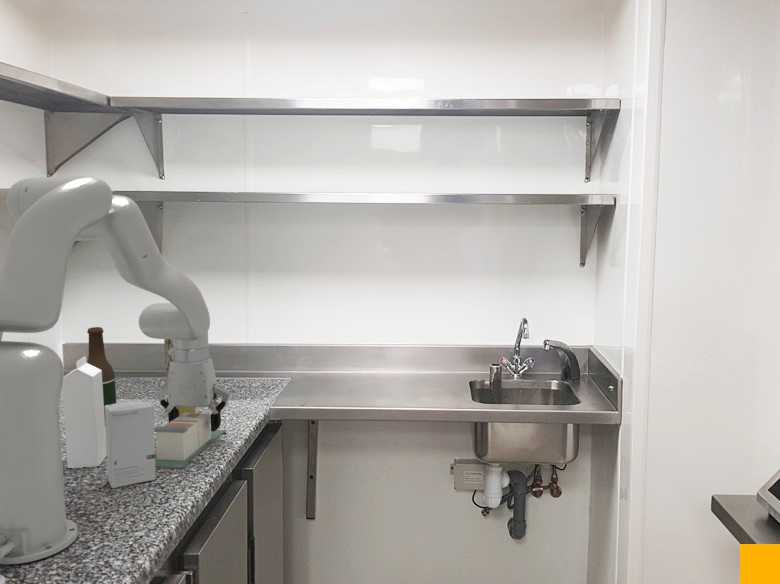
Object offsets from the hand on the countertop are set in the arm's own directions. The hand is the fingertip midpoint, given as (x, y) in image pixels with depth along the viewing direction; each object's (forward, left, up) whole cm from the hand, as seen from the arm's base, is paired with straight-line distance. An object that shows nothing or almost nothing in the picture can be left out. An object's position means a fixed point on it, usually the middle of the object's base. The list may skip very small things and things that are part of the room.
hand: (195, 428), depth 141 cm
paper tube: (+20, +13, -3) cm, 24 cm away
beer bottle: (+11, +30, -3) cm, 32 cm away
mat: (-4, 0, -3) cm, 5 cm away
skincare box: (-21, +3, -3) cm, 22 cm away
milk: (-14, +17, -3) cm, 22 cm away
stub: (-2, 0, -3) cm, 3 cm away
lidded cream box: (-8, 0, -3) cm, 9 cm away
